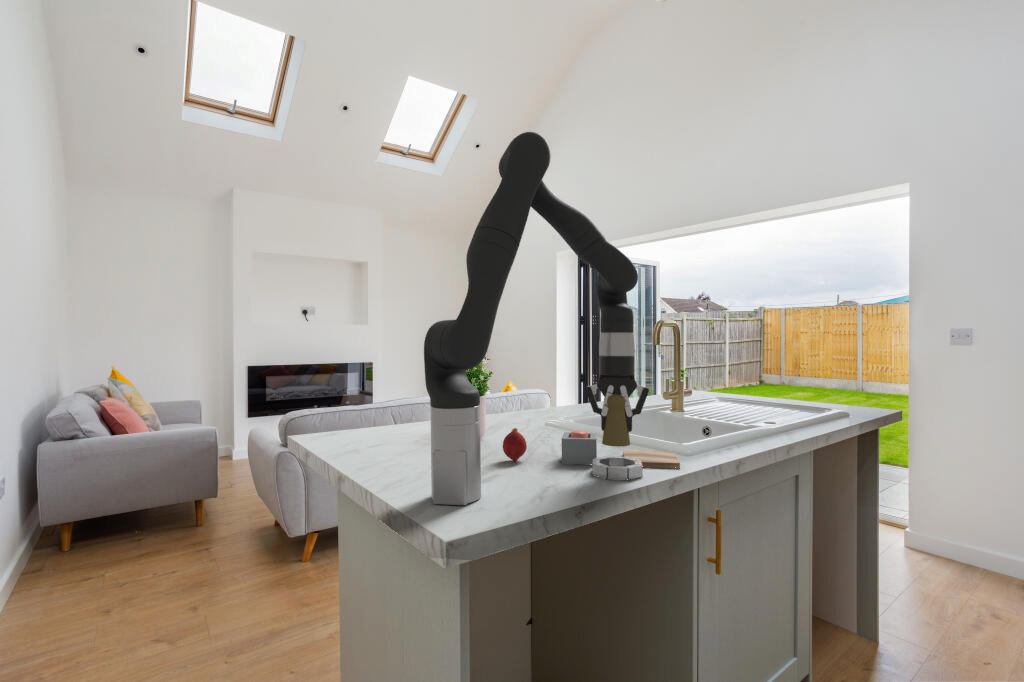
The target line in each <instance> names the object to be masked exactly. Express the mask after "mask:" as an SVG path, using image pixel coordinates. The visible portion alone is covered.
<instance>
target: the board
mask: <svg viewBox="0 0 1024 682" xmlns="http://www.w3.org/2000/svg"><path fill="white" fill-rule="evenodd" d="M622 455H623V456H624V457H630V458H634V459H638V460H640V461H641V462H642V466H643V467H642V468H649V467H663V468H662V469H681V463H680V461H679V460H678V457H677V456H676V455H675V453H674V451H671V450H646V449H645V450H639V449H623V450H622ZM675 467H676V468H675Z"/></svg>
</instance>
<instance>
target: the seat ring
mask: <svg viewBox="0 0 1024 682" xmlns="http://www.w3.org/2000/svg"><path fill="white" fill-rule="evenodd" d="M591 466H592V467H591V468H592V472H591V473H592V474H593V475H595V476H594V477H597V476H599V477H598V478H600V477H602V478H601V479H603V478H605V479H604V480H608V479H612V480H611V481H631V480H630V479H633V480H636V479H635V478H637V479H639V478H638V477H641V478H643V477H642V476H644V475H643V472H644V471H643V467H642V462H641V461H640V460H638V459H634V458H630V457H623V456H617V455H613V456H612V455H607V456H600V457H597V458H594V459H593V461H592V465H591ZM593 475H592V476H593ZM613 479H615V480H613ZM627 479H629V480H627Z"/></svg>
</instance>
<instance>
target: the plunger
mask: <svg viewBox="0 0 1024 682" xmlns="http://www.w3.org/2000/svg"><path fill="white" fill-rule="evenodd" d="M570 432H571V438H588V433H589V432H588V431H587V430H586V431H583V430H573V431H570Z"/></svg>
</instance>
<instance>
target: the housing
mask: <svg viewBox="0 0 1024 682" xmlns="http://www.w3.org/2000/svg"><path fill="white" fill-rule="evenodd" d="M571 432H572V431H568V432H565V431H564V432H563V434H562V437H561V465H574V464H592V461H593V459H594V458H598V456H597V455H598V452H597V451H598V449H597V443H598V441H597V439H598V437H597V435H598V434H597V432H588V438H571Z"/></svg>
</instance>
